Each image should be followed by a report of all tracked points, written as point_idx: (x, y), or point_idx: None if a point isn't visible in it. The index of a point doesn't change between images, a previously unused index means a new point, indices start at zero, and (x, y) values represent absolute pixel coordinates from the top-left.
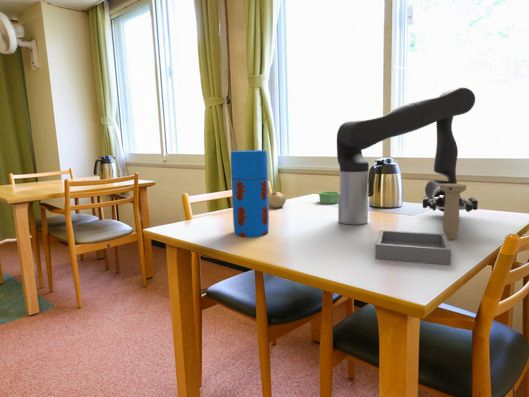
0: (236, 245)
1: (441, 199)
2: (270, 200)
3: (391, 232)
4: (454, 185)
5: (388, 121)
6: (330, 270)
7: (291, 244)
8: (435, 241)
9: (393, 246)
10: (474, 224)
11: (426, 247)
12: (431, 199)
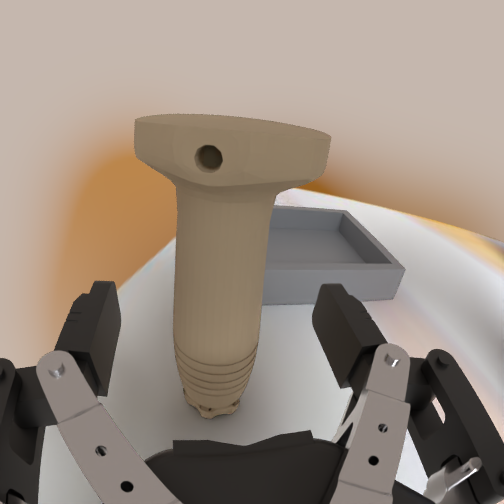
0: (494, 247)
1: (338, 449)
2: None
3: (374, 265)
4: (222, 117)
5: None
6: (359, 209)
7: (472, 260)
8: None
9: (318, 209)
10: None
11: None
12: (397, 352)
